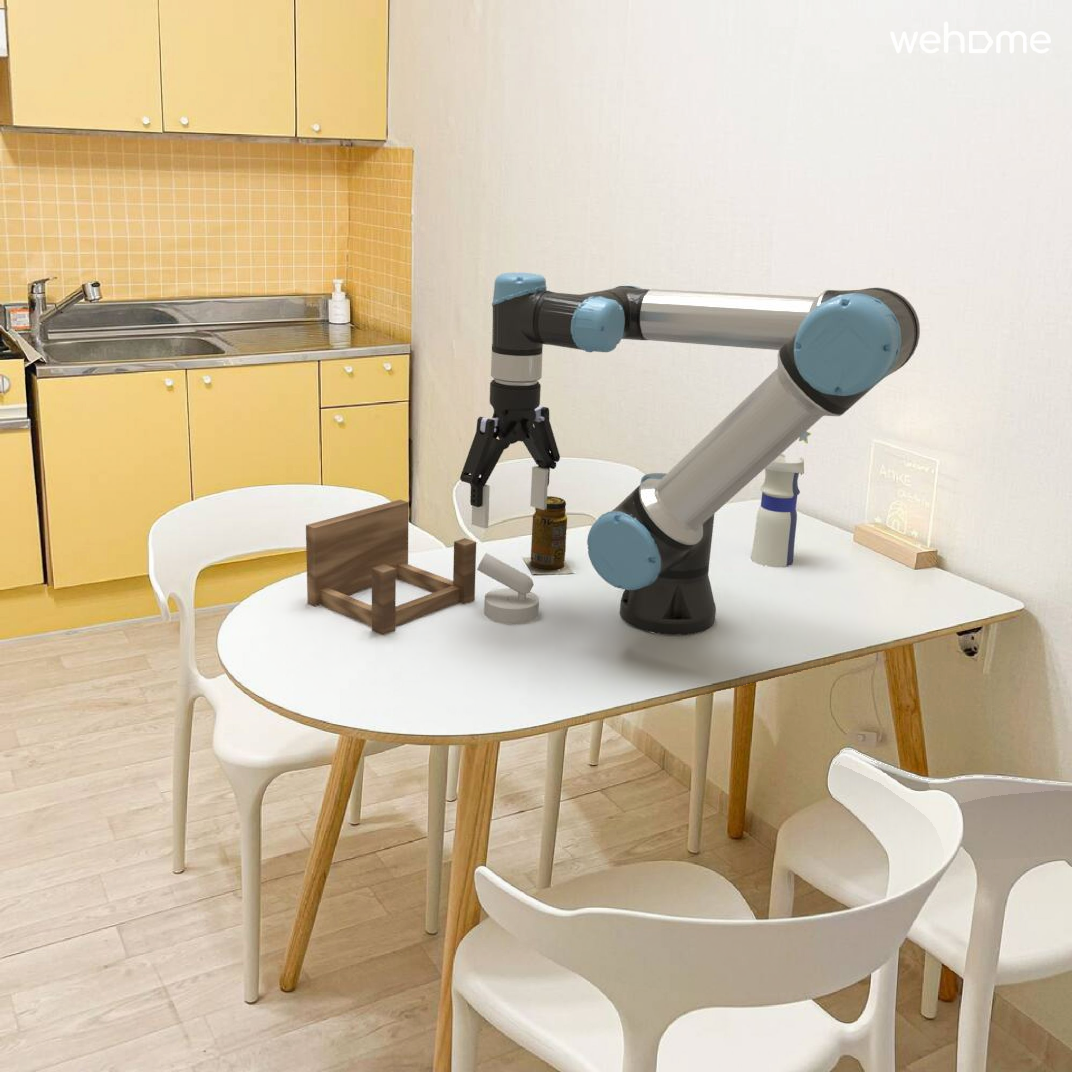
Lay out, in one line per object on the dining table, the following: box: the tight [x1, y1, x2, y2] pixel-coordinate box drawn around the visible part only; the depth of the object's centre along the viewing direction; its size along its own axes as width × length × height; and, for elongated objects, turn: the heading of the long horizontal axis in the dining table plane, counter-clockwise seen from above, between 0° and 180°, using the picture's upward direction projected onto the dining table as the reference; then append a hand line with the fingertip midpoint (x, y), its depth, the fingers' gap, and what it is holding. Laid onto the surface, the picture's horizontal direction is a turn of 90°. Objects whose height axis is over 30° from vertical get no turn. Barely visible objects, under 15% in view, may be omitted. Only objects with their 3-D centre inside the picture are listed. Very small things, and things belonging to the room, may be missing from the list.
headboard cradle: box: [305, 499, 477, 636], centre depth 183 cm, size 18×20×13 cm
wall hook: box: [476, 552, 540, 625], centre depth 181 cm, size 9×10×10 cm
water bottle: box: [750, 430, 812, 568], centre depth 208 cm, size 8×8×25 cm
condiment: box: [522, 495, 574, 575], centre depth 202 cm, size 7×8×12 cm
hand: (509, 516), depth 178 cm, fingers open, 13 cm apart
